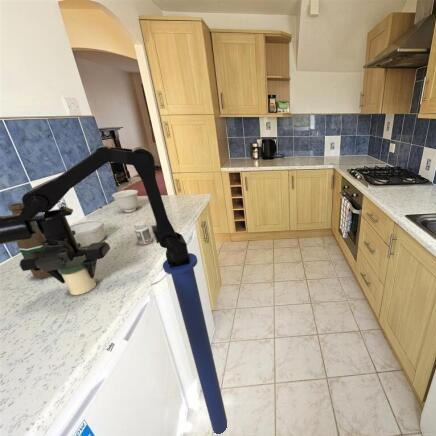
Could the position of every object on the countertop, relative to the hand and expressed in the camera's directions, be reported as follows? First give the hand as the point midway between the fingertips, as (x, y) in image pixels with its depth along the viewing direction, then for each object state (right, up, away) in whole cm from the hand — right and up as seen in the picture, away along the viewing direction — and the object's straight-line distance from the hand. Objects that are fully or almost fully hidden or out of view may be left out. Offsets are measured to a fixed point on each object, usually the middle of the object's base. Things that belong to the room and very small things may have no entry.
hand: (79, 279), depth 71 cm
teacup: (-27, +23, +63) cm, 72 cm away
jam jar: (0, -3, +1) cm, 3 cm away
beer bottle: (-18, 0, +10) cm, 20 cm away
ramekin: (-21, +8, +29) cm, 37 cm away
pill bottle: (+3, +8, +27) cm, 29 cm away
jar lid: (0, +5, -2) cm, 6 cm away
